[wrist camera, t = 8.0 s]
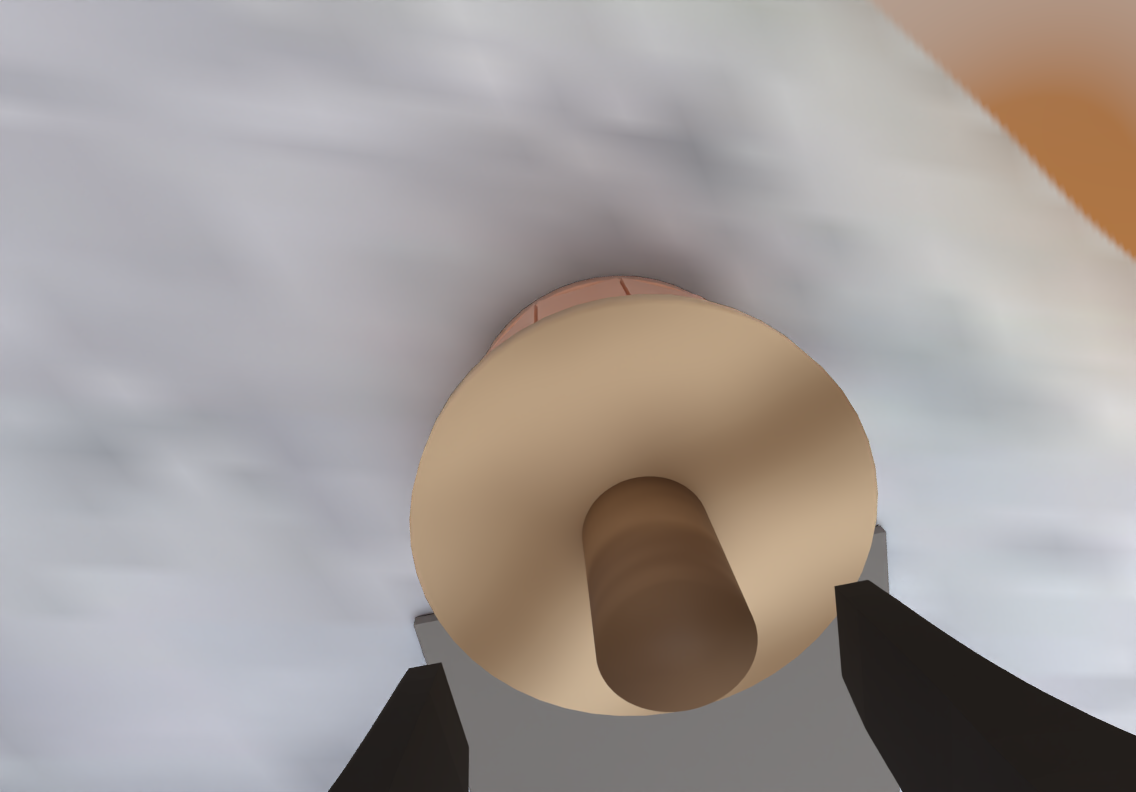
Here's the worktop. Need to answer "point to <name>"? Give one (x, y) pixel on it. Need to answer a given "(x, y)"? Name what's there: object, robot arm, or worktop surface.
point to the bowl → (585, 299)
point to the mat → (673, 730)
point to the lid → (641, 505)
